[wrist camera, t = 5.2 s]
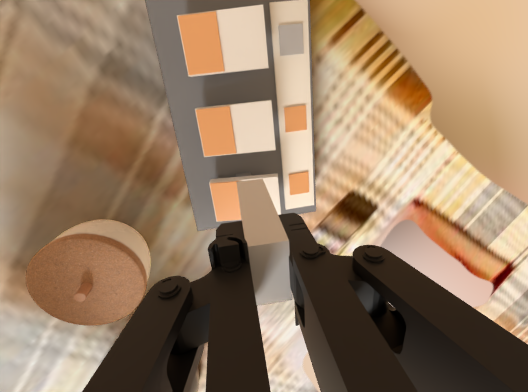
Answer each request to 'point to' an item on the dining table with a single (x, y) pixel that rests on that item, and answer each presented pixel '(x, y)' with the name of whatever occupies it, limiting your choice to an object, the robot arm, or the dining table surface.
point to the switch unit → (241, 91)
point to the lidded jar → (91, 273)
